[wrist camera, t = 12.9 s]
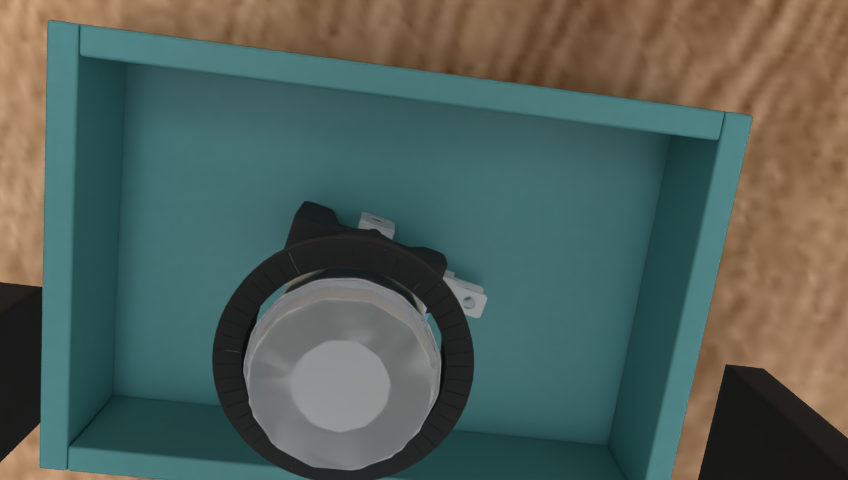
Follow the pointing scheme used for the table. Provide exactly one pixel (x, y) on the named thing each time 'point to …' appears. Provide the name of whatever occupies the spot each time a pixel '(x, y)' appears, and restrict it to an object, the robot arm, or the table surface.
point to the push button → (346, 351)
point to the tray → (414, 227)
